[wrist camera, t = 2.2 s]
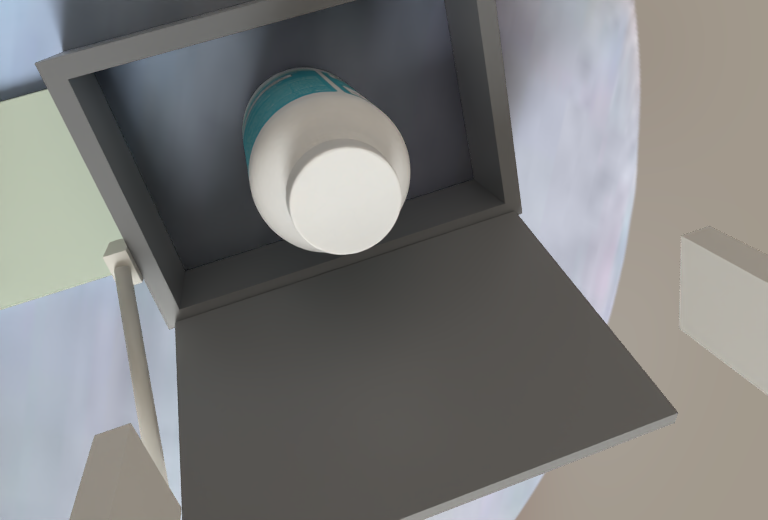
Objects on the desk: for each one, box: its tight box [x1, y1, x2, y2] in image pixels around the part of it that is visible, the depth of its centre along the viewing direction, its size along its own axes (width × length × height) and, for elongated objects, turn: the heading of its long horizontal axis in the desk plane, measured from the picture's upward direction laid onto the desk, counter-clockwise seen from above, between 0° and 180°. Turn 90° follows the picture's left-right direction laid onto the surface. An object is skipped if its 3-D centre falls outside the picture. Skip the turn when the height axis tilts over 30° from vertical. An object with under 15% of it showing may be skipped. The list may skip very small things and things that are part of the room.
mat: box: [0, 89, 123, 310], centre depth 32 cm, size 11×11×1 cm
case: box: [35, 0, 678, 520], centre depth 27 cm, size 19×23×20 cm
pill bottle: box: [242, 67, 410, 255], centre depth 29 cm, size 8×7×14 cm
